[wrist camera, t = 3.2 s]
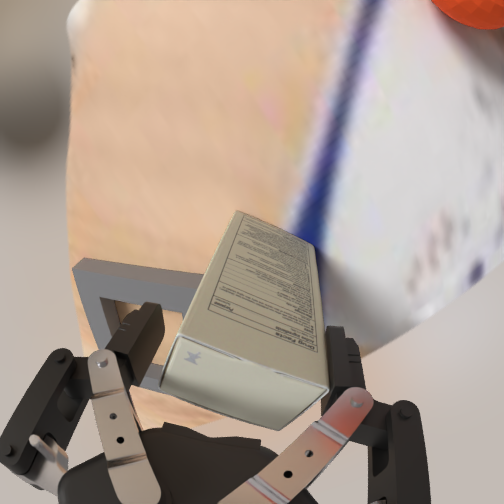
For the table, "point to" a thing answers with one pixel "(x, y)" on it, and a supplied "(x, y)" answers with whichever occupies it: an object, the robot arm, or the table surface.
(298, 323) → the skincare box
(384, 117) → the table surface
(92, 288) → the holder
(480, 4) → the clementine
